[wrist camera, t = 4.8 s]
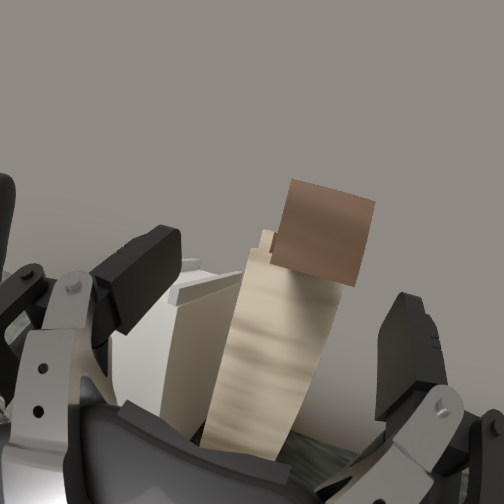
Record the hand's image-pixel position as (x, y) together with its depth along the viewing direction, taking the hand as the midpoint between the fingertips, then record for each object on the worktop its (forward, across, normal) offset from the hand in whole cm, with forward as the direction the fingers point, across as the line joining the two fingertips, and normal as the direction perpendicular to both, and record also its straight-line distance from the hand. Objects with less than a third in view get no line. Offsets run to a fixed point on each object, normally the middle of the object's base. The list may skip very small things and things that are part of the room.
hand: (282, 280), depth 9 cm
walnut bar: (+12, 0, +7) cm, 14 cm away
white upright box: (+1, +12, +37) cm, 39 cm away
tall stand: (+1, 0, +37) cm, 37 cm away
